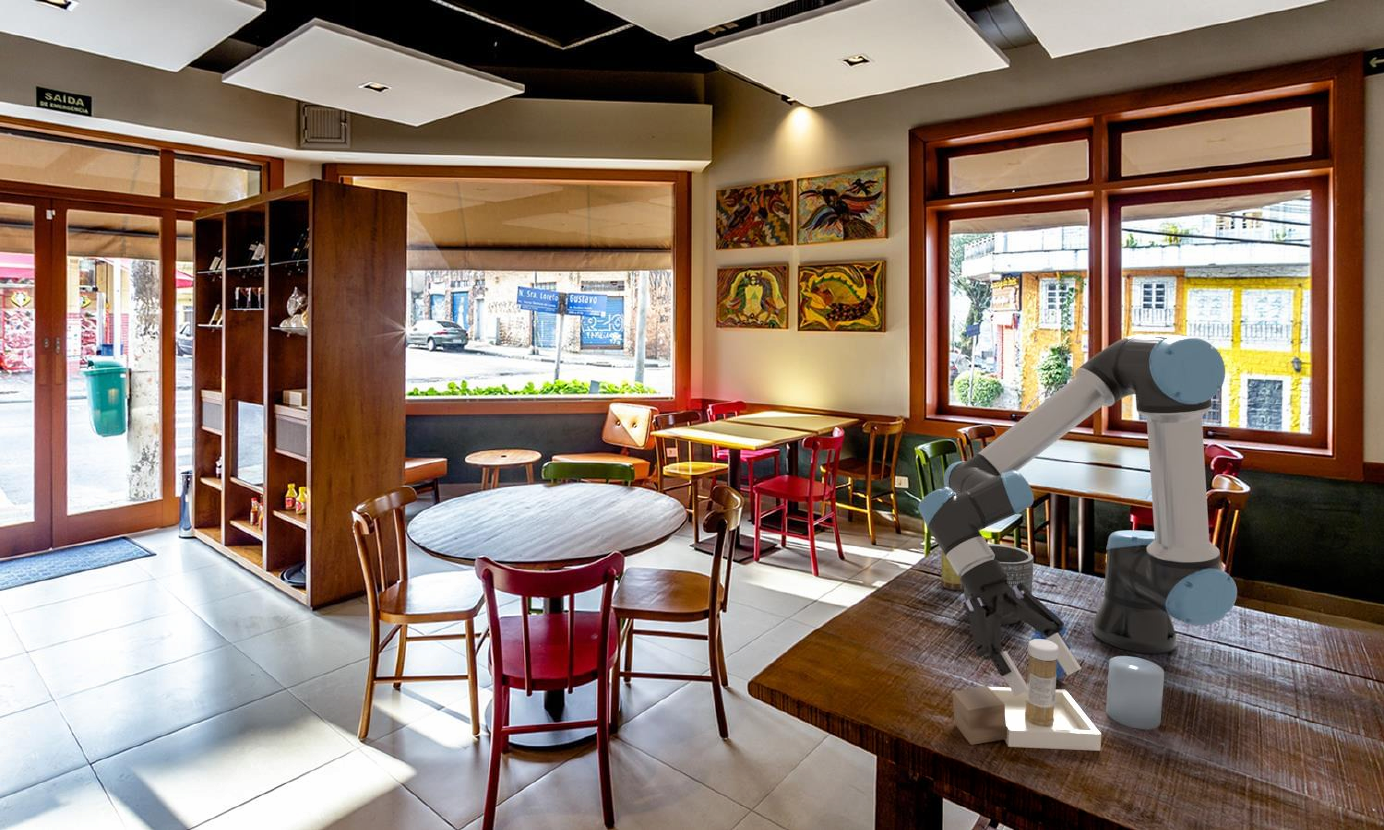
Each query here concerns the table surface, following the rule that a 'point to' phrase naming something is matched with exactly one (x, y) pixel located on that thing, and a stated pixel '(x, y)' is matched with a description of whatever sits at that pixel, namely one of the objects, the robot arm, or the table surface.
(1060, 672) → the grapes
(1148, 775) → the table surface
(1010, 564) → the planter
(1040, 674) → the sprinkles bottle
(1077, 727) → the tray
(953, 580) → the sauce bottle
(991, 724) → the walnut block
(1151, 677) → the pale grey rounded cylinder
